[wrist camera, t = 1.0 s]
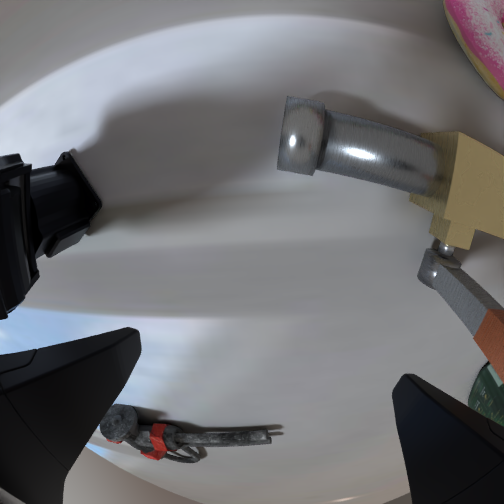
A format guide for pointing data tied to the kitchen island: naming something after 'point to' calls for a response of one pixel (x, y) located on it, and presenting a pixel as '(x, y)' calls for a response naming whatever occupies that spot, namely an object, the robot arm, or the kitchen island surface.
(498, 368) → the chisel
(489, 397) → the coffee jar
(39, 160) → the kitchen island surface
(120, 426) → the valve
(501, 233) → the pipe valve
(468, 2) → the donut
